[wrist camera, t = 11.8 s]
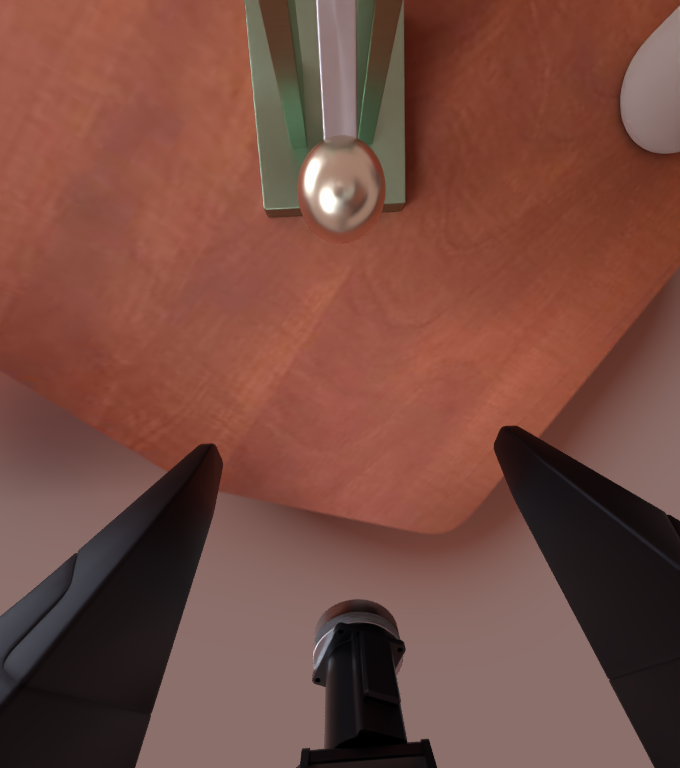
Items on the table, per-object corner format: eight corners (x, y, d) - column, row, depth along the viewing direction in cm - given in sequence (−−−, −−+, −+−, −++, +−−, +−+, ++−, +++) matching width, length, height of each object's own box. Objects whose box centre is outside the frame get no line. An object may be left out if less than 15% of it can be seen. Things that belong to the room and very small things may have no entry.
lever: (376, 240, 12) (391, 243, 9) (305, 243, 12) (299, 247, 9) (391, -370, 6) (448, -895, 3) (247, -369, 6) (177, -900, 3)
